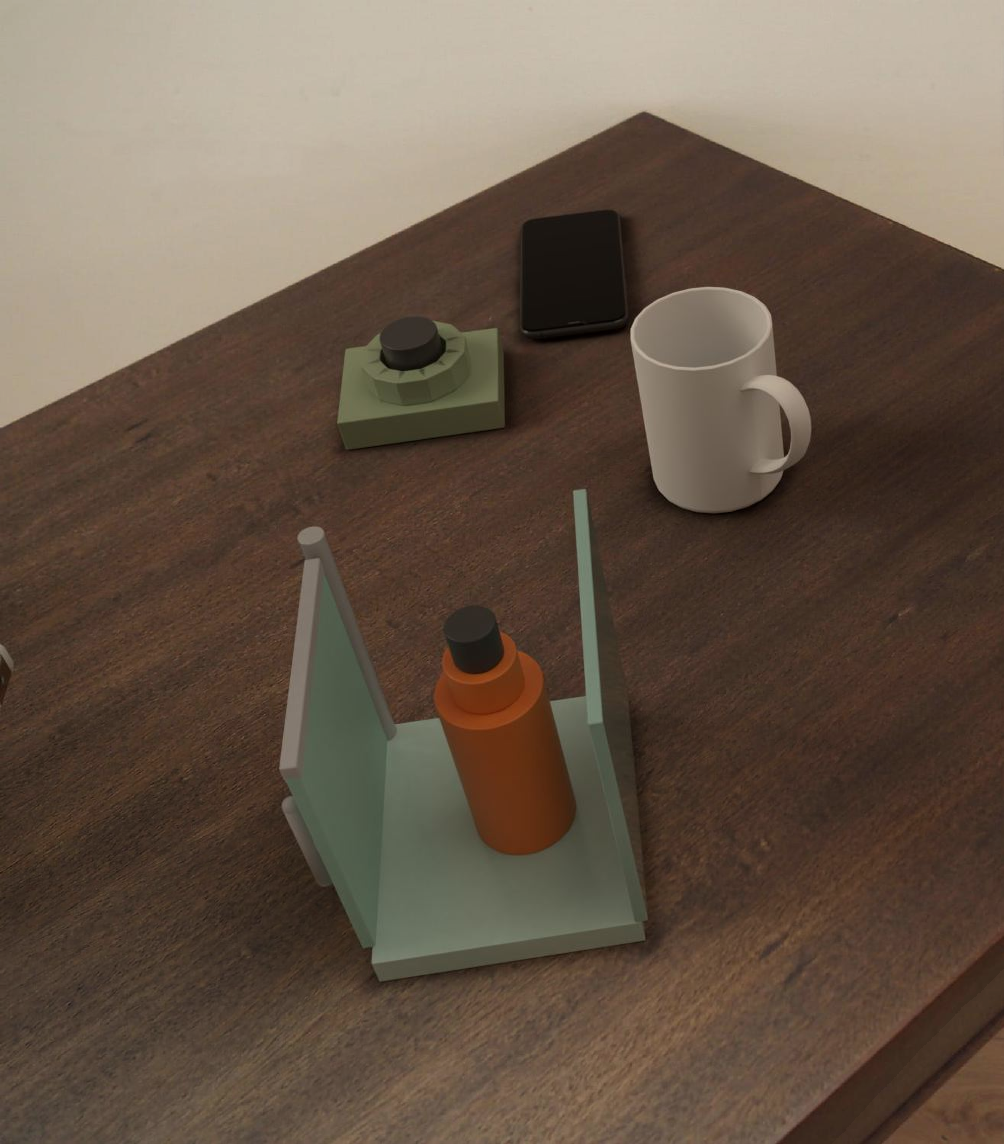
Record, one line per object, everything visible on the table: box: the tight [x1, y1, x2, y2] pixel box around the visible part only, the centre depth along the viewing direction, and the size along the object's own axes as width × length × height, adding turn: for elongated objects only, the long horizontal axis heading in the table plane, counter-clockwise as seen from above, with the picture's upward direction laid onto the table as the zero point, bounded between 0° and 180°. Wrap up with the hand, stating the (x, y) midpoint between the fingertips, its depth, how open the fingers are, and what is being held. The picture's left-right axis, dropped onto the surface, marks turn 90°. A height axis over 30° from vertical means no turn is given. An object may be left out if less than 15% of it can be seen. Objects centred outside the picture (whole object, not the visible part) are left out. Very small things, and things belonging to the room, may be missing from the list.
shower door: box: [278, 558, 387, 949], centre depth 69 cm, size 2×12×12 cm, turn 7°
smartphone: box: [518, 209, 630, 340], centre depth 110 cm, size 7×1×15 cm
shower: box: [296, 488, 649, 983], centre depth 70 cm, size 13×14×15 cm
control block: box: [336, 320, 506, 451], centre depth 100 cm, size 10×8×4 cm
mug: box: [630, 286, 812, 514], centre depth 89 cm, size 12×8×10 cm, turn 41°
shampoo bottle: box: [433, 604, 576, 855], centre depth 70 cm, size 5×5×13 cm
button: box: [379, 315, 443, 371], centre depth 98 cm, size 4×4×2 cm
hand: (2, 679), depth 65 cm, fingers closed
